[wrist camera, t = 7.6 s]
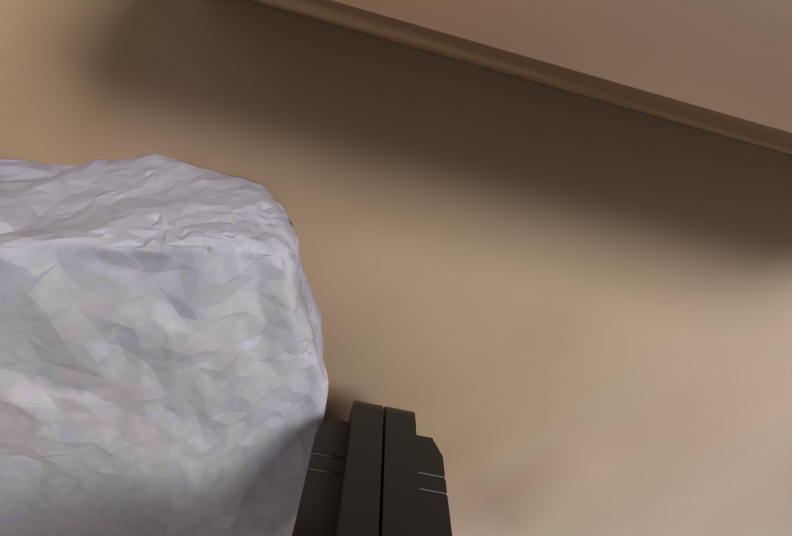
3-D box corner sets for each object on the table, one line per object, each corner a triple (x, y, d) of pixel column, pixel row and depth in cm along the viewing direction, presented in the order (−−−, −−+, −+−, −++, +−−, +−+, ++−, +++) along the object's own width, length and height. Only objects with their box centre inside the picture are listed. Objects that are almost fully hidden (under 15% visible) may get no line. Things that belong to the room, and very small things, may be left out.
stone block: (319, 148, 12) (-151, 134, 10) (334, 204, 8) (-486, 200, 6) (320, 475, 17) (8, 511, 15) (329, 618, 13) (-106, 696, 11)
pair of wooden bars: (204, -106, 8) (51, -254, 5) (992, 132, 10) (1345, 164, 6) (151, 590, 16) (75, 747, 12) (608, 662, 17) (666, 820, 14)
